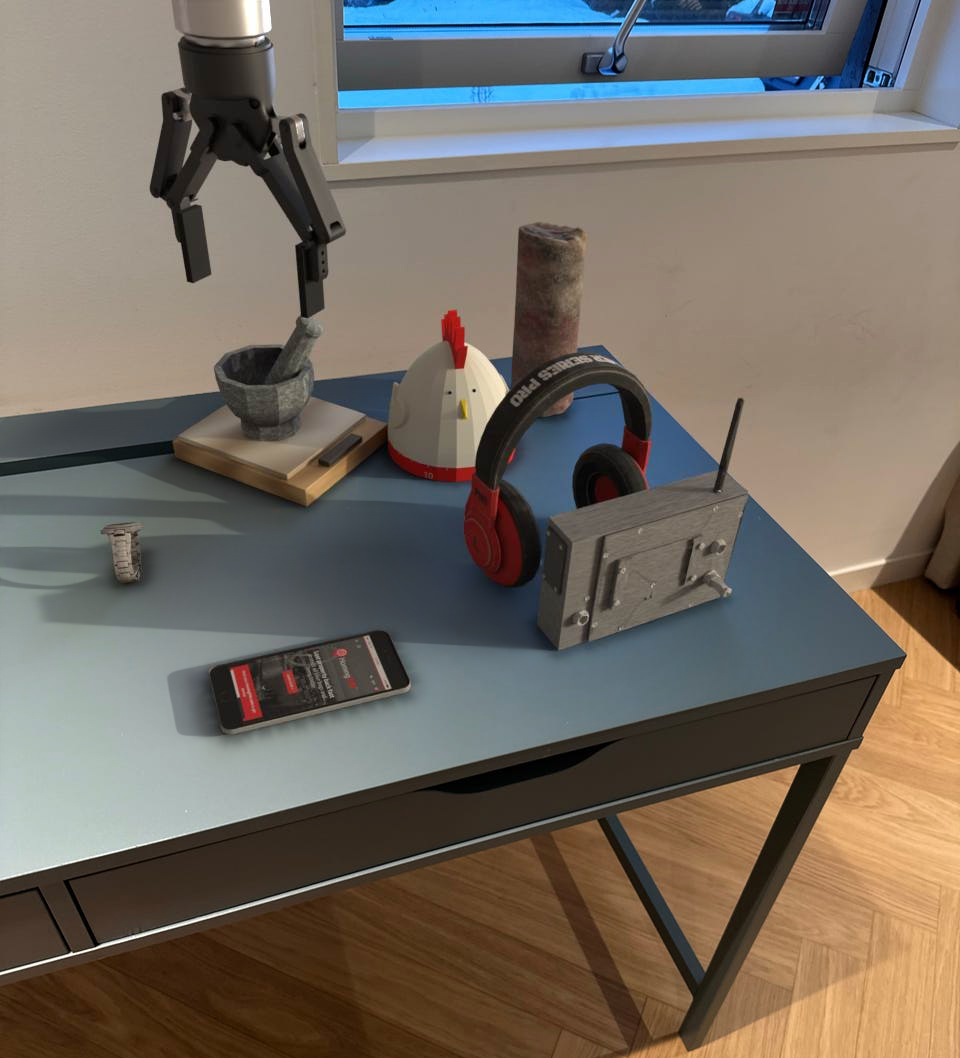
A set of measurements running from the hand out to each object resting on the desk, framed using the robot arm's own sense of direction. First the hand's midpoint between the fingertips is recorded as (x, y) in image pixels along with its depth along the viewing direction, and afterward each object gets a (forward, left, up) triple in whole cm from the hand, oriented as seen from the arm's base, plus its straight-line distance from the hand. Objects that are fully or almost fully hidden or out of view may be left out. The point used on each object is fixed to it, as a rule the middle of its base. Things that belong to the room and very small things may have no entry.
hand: (254, 295), depth 90 cm
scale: (+1, 0, -17) cm, 17 cm away
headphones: (+34, -2, -17) cm, 38 cm away
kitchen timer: (+16, +10, -17) cm, 25 cm away
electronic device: (+44, -6, -17) cm, 48 cm away
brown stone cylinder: (+20, +24, -17) cm, 36 cm away
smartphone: (+25, -27, -17) cm, 40 cm away
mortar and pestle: (+1, 0, -14) cm, 14 cm away
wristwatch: (+2, -24, -17) cm, 29 cm away
